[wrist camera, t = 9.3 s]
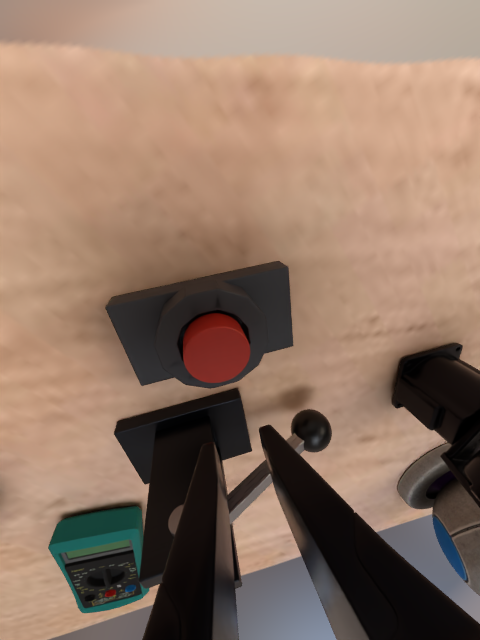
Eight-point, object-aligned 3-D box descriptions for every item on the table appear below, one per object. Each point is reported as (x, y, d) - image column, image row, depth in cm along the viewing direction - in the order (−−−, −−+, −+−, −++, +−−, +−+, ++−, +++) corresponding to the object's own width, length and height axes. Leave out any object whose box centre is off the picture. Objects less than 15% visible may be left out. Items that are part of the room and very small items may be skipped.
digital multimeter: (86, 584, 29) (77, 621, 26) (57, 514, 22) (41, 554, 20) (152, 568, 31) (149, 602, 28) (142, 499, 24) (137, 535, 22)
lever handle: (307, 395, 21) (340, 416, 19) (307, 420, 23) (339, 442, 20) (154, 524, 14) (176, 584, 12) (170, 548, 16) (192, 605, 13)
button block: (278, 256, 16) (301, 269, 13) (285, 337, 19) (304, 363, 16) (110, 292, 15) (92, 316, 12) (145, 373, 18) (138, 409, 15)
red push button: (238, 306, 14) (245, 319, 12) (247, 356, 16) (254, 373, 14) (175, 321, 13) (174, 336, 12) (191, 371, 15) (192, 390, 14)
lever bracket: (237, 387, 21) (278, 522, 12) (249, 440, 24) (287, 575, 15) (116, 421, 19) (65, 597, 11) (146, 471, 23) (125, 638, 14)
